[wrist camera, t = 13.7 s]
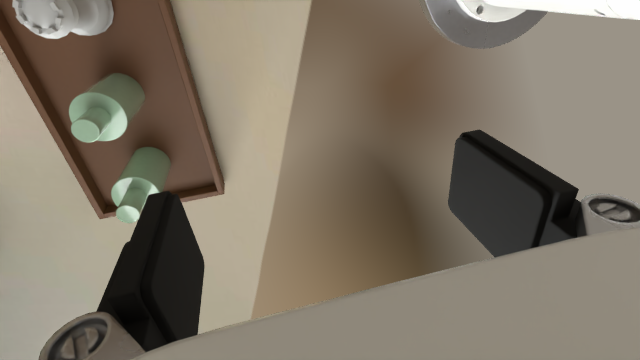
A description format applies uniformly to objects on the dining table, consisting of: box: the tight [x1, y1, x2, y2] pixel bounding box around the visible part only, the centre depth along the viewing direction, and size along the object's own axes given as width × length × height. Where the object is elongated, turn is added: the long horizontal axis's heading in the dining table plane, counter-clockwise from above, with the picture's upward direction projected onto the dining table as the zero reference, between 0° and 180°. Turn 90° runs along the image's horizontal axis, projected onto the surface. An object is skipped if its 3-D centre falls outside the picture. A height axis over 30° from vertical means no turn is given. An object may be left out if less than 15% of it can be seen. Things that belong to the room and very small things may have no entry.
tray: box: [0, 0, 225, 219], centre depth 31 cm, size 13×24×2 cm, turn 6°
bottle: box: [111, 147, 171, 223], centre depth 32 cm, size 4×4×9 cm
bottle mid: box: [69, 73, 145, 142], centre depth 28 cm, size 4×4×9 cm
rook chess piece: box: [12, 0, 114, 39], centre depth 24 cm, size 4×4×8 cm
